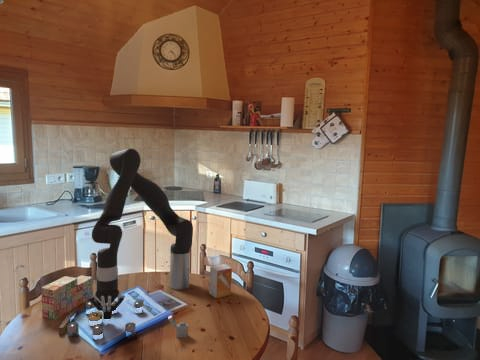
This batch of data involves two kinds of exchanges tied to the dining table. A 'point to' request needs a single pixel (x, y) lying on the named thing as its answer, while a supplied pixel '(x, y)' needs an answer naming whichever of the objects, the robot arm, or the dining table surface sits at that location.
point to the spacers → (98, 329)
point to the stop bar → (66, 321)
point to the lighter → (179, 328)
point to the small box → (220, 280)
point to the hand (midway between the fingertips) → (107, 320)
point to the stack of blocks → (65, 295)
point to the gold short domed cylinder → (95, 316)
